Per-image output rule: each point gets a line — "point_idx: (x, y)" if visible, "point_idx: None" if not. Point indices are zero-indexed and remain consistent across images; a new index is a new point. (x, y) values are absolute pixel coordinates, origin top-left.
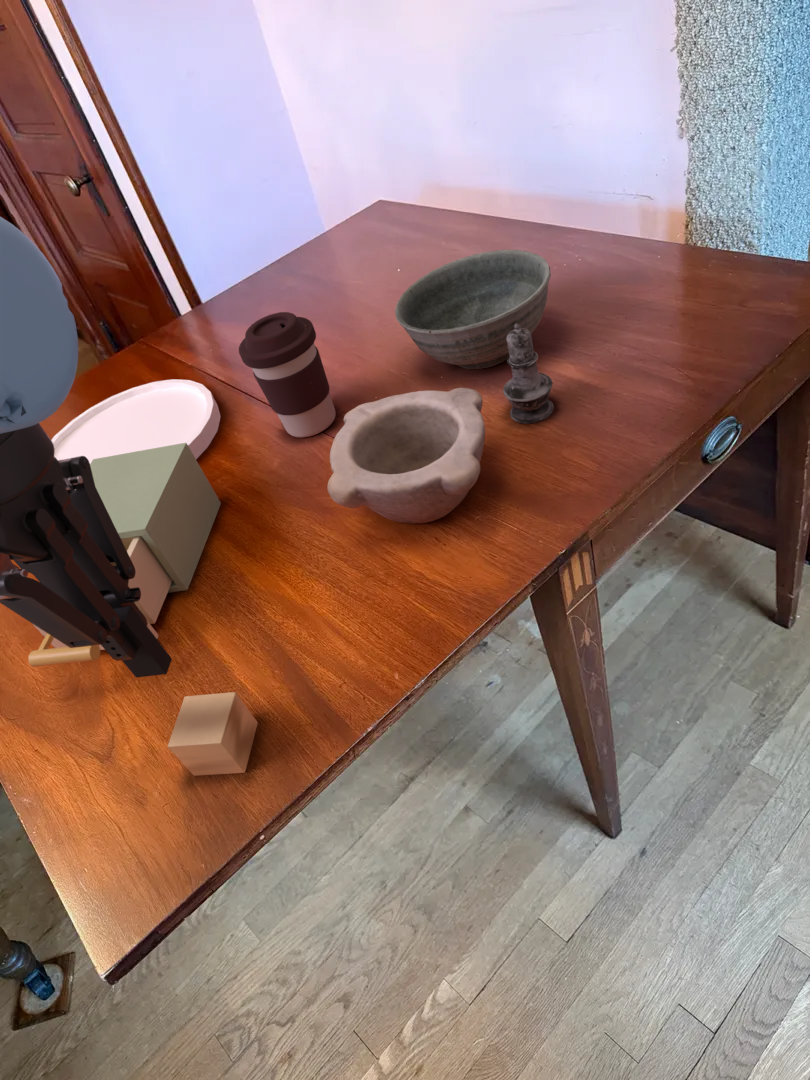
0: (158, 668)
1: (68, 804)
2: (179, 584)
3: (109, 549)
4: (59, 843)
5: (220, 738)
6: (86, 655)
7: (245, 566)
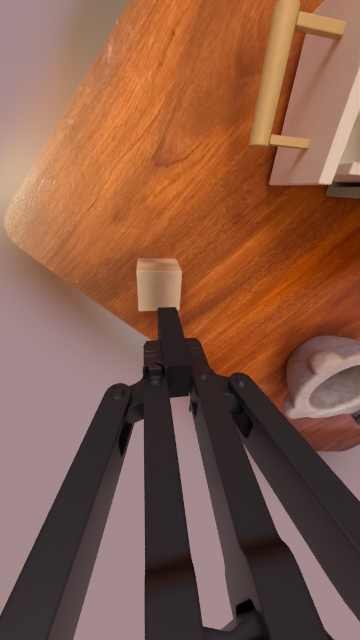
0: (158, 337)
1: (108, 129)
2: (333, 191)
3: (252, 451)
4: (70, 135)
5: (142, 310)
6: (254, 137)
7: (320, 249)
